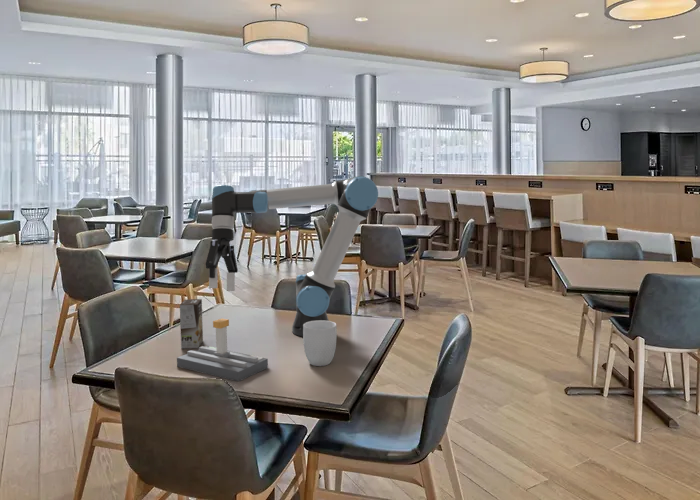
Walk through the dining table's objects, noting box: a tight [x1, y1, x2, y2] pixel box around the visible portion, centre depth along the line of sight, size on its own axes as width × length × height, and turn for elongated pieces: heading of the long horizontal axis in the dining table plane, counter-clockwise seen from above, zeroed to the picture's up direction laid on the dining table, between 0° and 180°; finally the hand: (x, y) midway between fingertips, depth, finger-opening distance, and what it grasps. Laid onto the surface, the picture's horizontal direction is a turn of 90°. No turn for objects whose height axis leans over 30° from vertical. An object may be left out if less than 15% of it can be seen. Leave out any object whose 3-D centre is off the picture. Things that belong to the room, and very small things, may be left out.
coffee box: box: [179, 298, 204, 349], centre depth 205 cm, size 9×6×16 cm
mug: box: [302, 320, 338, 367], centre depth 187 cm, size 15×11×13 cm
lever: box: [212, 318, 230, 358], centre depth 181 cm, size 4×4×12 cm
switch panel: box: [176, 345, 269, 382], centre depth 182 cm, size 26×14×4 cm, turn 60°
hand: (222, 289), depth 195 cm, fingers open, 13 cm apart
